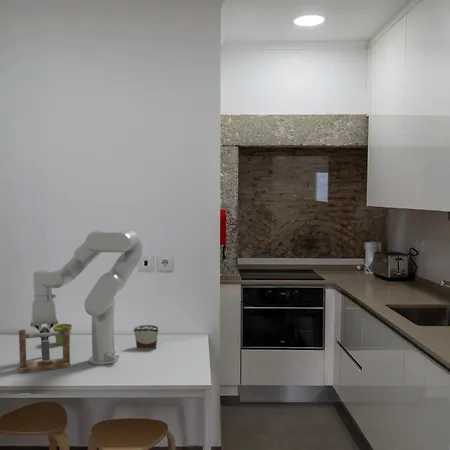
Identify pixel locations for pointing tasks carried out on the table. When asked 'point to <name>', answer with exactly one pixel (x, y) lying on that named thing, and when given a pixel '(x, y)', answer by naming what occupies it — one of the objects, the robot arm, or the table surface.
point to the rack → (36, 365)
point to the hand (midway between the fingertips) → (44, 338)
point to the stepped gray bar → (45, 346)
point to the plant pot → (59, 328)
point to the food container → (146, 336)
